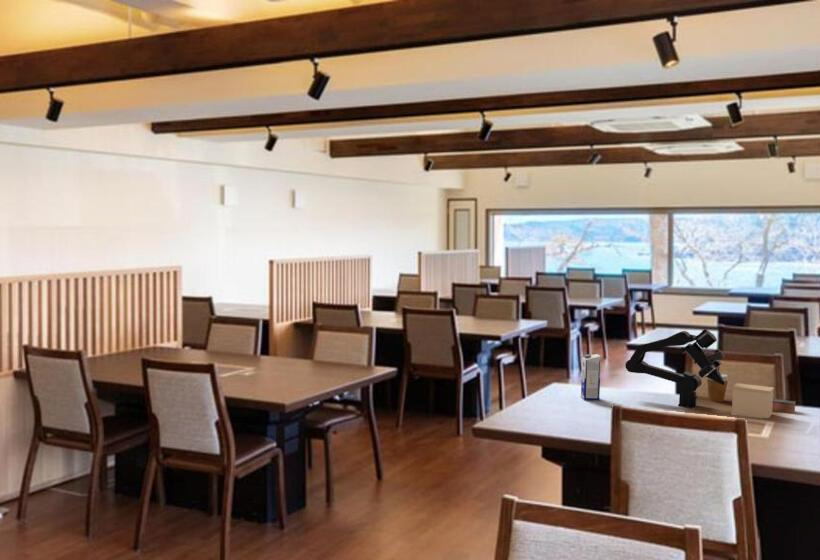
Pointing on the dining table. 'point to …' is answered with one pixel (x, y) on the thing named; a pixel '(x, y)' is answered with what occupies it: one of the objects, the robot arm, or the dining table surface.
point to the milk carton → (590, 377)
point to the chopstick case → (783, 406)
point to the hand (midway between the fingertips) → (724, 384)
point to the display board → (747, 416)
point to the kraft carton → (752, 400)
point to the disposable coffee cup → (717, 389)
